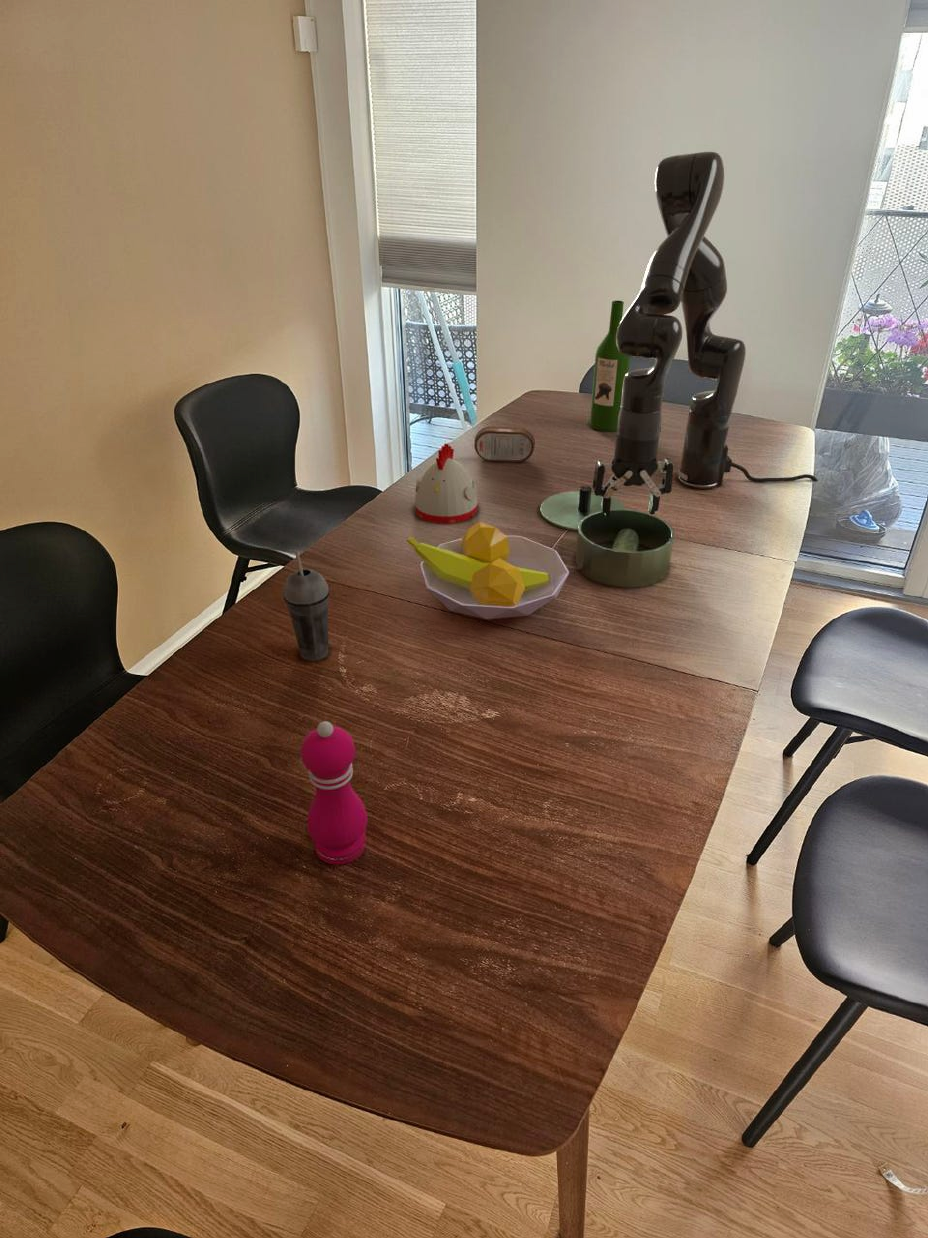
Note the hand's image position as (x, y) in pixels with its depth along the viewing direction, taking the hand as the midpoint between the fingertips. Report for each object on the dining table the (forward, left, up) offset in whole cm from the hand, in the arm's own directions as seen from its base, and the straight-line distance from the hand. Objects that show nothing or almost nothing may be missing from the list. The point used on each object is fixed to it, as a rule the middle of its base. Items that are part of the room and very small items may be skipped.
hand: (628, 513), depth 152 cm
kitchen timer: (+34, -26, -11) cm, 44 cm away
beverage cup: (+57, +27, -11) cm, 64 cm away
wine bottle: (-11, -76, -11) cm, 78 cm away
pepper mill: (+49, +68, -11) cm, 85 cm away
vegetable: (0, 0, -11) cm, 11 cm away
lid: (+4, -22, -10) cm, 25 cm away
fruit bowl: (+27, +10, -11) cm, 31 cm away
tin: (+19, -53, -11) cm, 57 cm away
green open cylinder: (0, 0, -11) cm, 11 cm away
